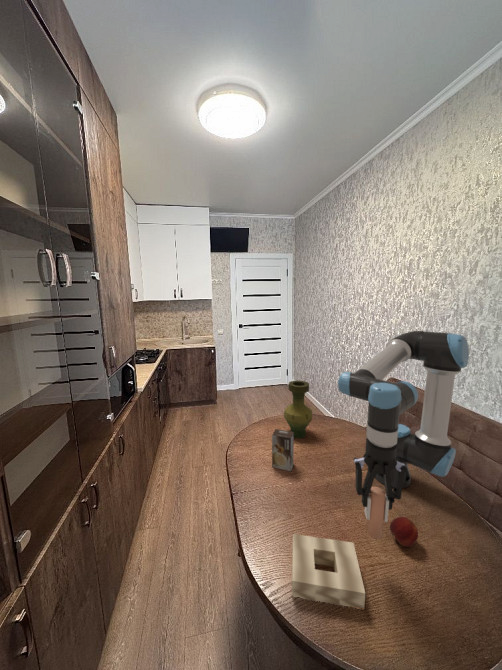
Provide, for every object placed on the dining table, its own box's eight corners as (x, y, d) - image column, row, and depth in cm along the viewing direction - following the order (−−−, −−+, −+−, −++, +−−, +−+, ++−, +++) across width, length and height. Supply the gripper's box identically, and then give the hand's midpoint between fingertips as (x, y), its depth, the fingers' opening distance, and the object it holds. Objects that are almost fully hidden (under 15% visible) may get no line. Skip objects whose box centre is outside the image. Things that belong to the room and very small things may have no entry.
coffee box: (294, 463, 126) (294, 431, 124) (290, 471, 120) (291, 438, 118) (275, 459, 129) (275, 428, 127) (271, 467, 123) (271, 434, 121)
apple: (416, 557, 81) (419, 534, 80) (388, 544, 85) (389, 522, 84) (416, 538, 87) (419, 516, 86) (390, 527, 91) (391, 506, 90)
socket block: (352, 557, 81) (353, 542, 80) (364, 610, 67) (365, 593, 67) (292, 547, 84) (292, 533, 83) (291, 597, 70) (292, 580, 69)
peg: (379, 527, 78) (382, 487, 76) (384, 539, 74) (387, 497, 72) (365, 525, 79) (368, 485, 77) (369, 537, 75) (371, 495, 73)
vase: (282, 426, 161) (283, 379, 157) (309, 427, 161) (310, 379, 156) (284, 441, 145) (285, 388, 141) (314, 442, 144) (316, 388, 140)
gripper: (409, 435, 75) (402, 510, 78) (345, 431, 77) (342, 503, 81) (421, 451, 67) (413, 532, 71) (351, 445, 70) (346, 523, 74)
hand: (375, 516), depth 76 cm, fingers closed on peg, 4 cm apart
